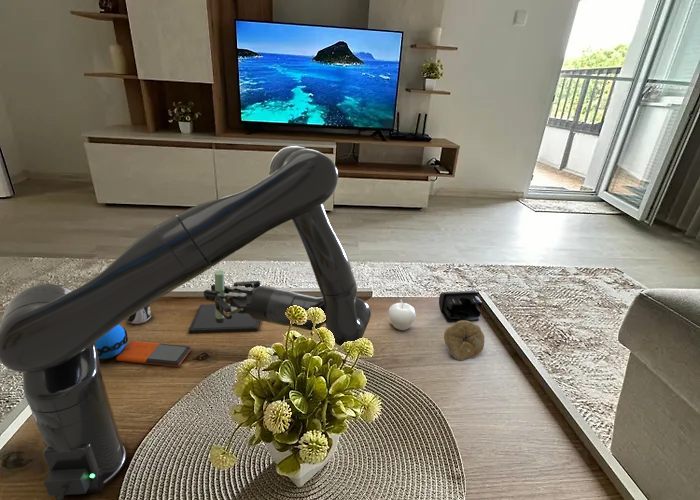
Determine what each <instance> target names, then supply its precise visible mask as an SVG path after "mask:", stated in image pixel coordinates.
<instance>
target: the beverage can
mask: <svg viewBox="0 0 700 500" xmlns="http://www.w3.org/2000/svg"><path fill="white" fill-rule="evenodd" d="M150 305H151V304H150ZM150 305H148V306H146V307H145V308H143V309H141V310H139V311H138V312H136V313H135V314H133V315H131V316H130V317H128V318H127V319H126V320H127V322H128V323H130V324H135V325H139V324H143V323H145V322H147V321H148V320H149V319H151V317H152V311H151V306H150Z"/></svg>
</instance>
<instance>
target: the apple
mask: <svg viewBox="0 0 700 500" xmlns="http://www.w3.org/2000/svg"><path fill="white" fill-rule="evenodd" d="M416 315H417V313H416V310H415V308H414V306H412V305H411V304H409V303H406V302H403V300H402V299H399V302H396V303H393V304H392V305H391V306H390V307H389V309H388V318H389V321H390V323H391V325H392V326H393V328H394V329H397V330H399V331H406V330H408V329H409V328H410V327H411V326H412V325H413V323H414V322H415V319H416V317H417V316H416Z"/></svg>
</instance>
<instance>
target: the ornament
mask: <svg viewBox="0 0 700 500" xmlns="http://www.w3.org/2000/svg"><path fill="white" fill-rule="evenodd" d="M128 341H129V337H128V332H127V330H126V329H125V328H124V327H123V326H122V325H120V324H118V325H117V326H115V327H114V328H113V329H111V330H110V331H109V332H107V333H106V334H105V335H103V336H102V337H101V338H99V339H98V340H97V341H95V344H96V347H97V352H98V357H99V360H107V359H111V358H114V357H117V356H118V355H119V354H120V353H121V352H122V351H123V350H124V349H125V347H126V344H128Z"/></svg>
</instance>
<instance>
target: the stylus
mask: <svg viewBox="0 0 700 500" xmlns="http://www.w3.org/2000/svg"><path fill="white" fill-rule="evenodd" d="M214 284H215V291H216V292H220V293H224V286H225V271H224V270H215V271H214ZM224 301H226V299H225V298H224ZM215 312H216V322H217V323H223V322H224V321H225V317H224V316H223V315H222V314H221V313H220V312H219V311H217V310H216V305H215Z"/></svg>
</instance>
